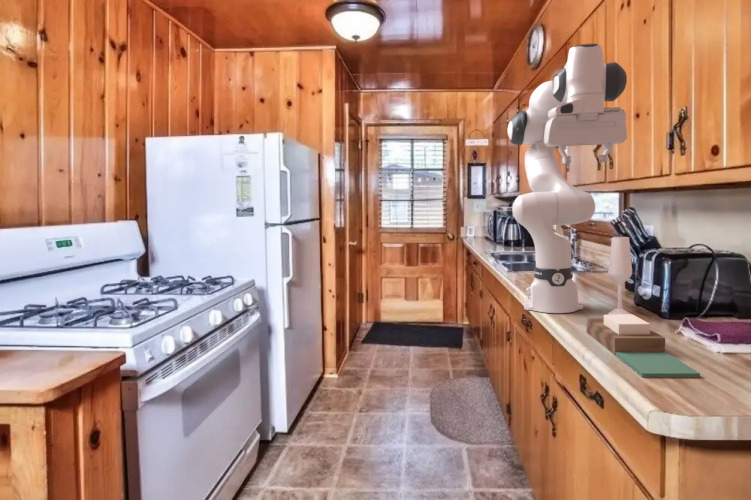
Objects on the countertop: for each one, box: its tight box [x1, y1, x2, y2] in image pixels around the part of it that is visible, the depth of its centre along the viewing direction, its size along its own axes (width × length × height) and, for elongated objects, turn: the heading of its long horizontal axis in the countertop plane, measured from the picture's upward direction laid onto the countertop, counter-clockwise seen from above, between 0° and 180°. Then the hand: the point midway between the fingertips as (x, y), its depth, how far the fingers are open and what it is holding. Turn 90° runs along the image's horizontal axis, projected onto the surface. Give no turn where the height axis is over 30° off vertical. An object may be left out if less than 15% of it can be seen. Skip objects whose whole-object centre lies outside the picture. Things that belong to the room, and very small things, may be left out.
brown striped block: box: [586, 317, 666, 356], centre depth 121 cm, size 20×11×4 cm, turn 174°
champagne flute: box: [607, 236, 633, 315], centre depth 150 cm, size 7×7×24 cm
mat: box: [615, 351, 701, 378], centre depth 104 cm, size 14×11×1 cm
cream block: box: [603, 313, 651, 335], centre depth 119 cm, size 10×7×2 cm
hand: (584, 162), depth 126 cm, fingers open, 8 cm apart
